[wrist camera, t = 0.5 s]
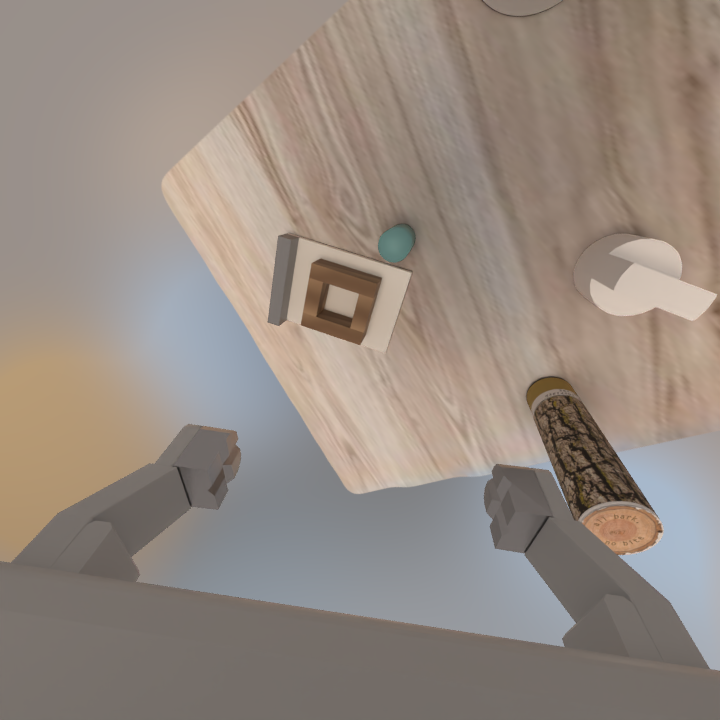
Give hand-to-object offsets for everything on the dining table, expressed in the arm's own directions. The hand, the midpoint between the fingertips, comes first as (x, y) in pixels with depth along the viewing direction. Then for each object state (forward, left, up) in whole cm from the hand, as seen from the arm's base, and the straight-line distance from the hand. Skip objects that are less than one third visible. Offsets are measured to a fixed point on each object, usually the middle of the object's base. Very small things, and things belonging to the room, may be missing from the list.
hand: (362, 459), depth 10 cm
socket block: (+10, -10, -42) cm, 44 cm away
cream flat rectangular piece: (+10, -11, -43) cm, 46 cm away
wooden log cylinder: (+15, +26, -43) cm, 53 cm away
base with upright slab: (-5, +24, -43) cm, 50 cm away
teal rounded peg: (-1, -4, -43) cm, 43 cm away
